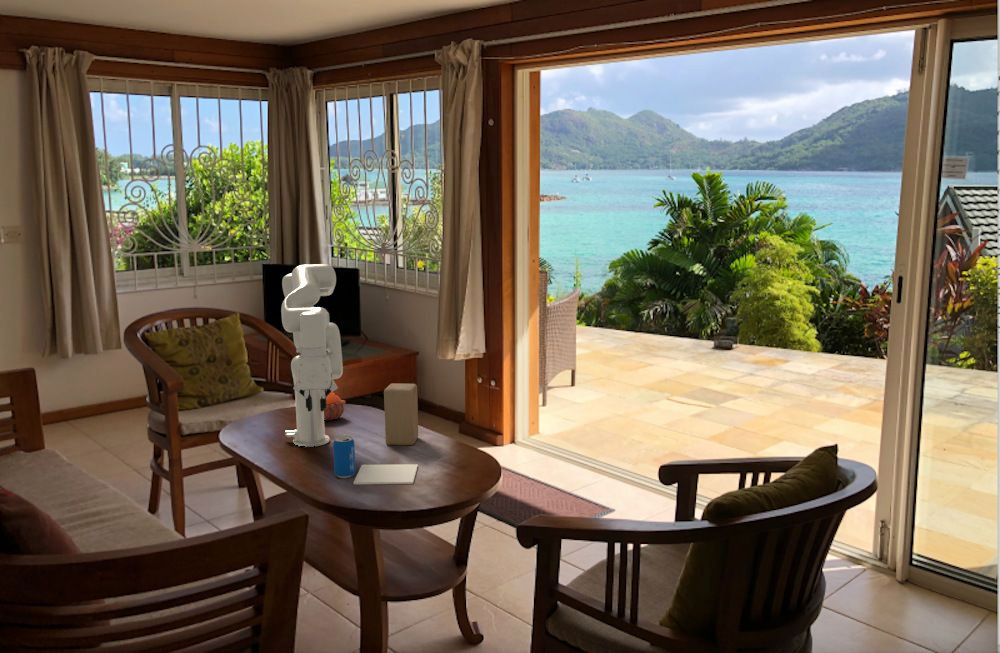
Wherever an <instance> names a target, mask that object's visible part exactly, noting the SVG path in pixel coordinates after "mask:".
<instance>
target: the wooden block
mask: <svg viewBox="0 0 1000 653" xmlns="http://www.w3.org/2000/svg"><path fill="white" fill-rule="evenodd" d="M383 397H384V399H383V401H384V406H383V407H384V431H385V432H384V434H385V444H386V445H388V446H413V445H415V442H416V441H417V439H418V437H419V412H418V411H419V410H418V408H419V406H418V385H417V384H416V383H398V382H397V383H390V384H388V386H387V387H386V388H384V391H383Z"/></svg>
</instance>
